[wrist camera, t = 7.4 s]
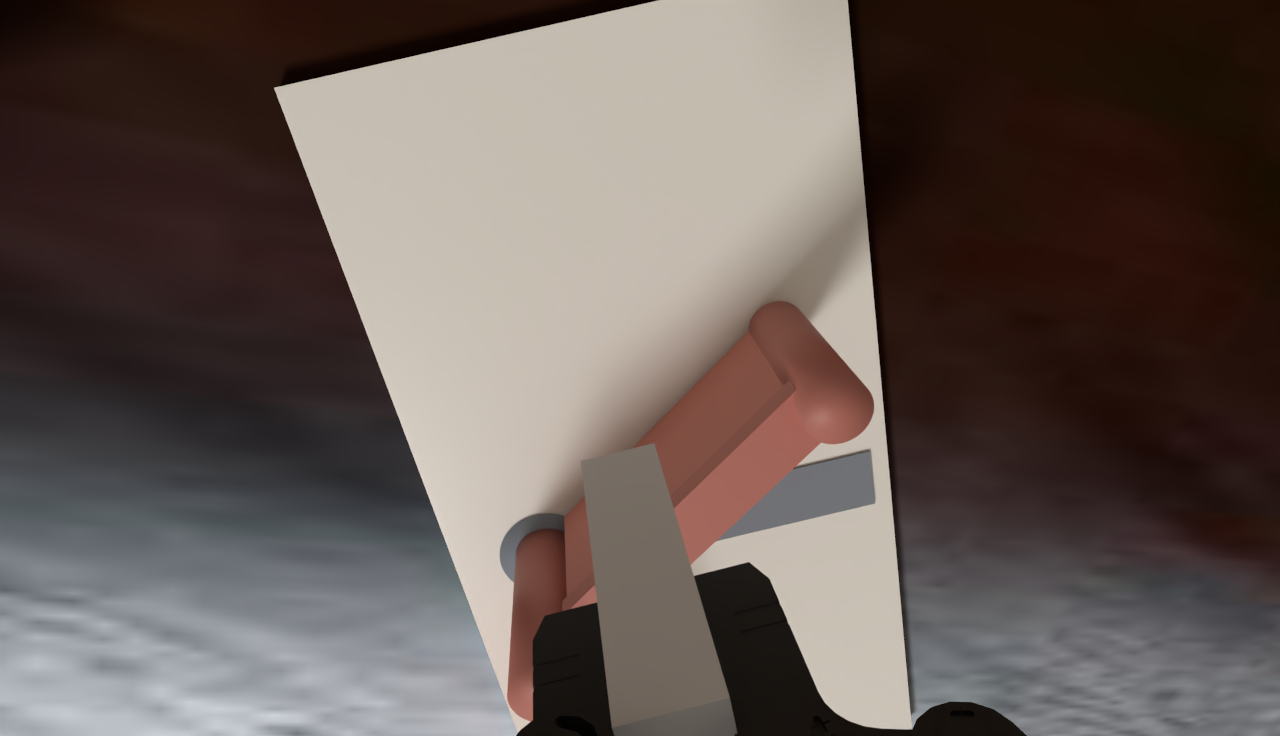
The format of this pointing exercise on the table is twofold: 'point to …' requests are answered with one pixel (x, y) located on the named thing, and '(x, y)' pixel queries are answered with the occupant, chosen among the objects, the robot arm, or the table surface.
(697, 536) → the red wall panel
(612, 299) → the card
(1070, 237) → the table surface
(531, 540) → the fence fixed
